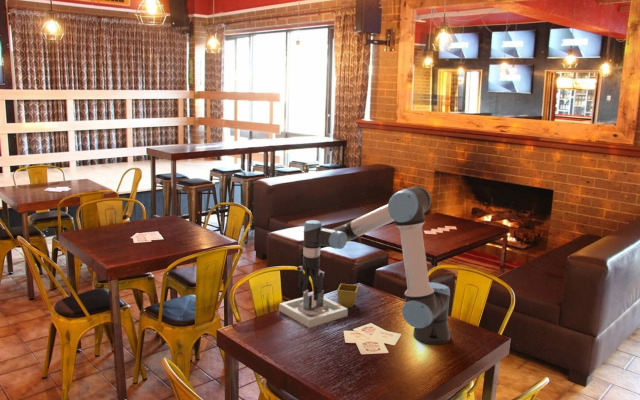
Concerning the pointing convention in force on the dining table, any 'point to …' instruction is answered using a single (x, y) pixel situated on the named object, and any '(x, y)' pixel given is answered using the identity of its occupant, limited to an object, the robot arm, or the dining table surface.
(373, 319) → the dining table surface
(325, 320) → the white shallow square tray
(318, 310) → the dial
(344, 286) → the flower pot
